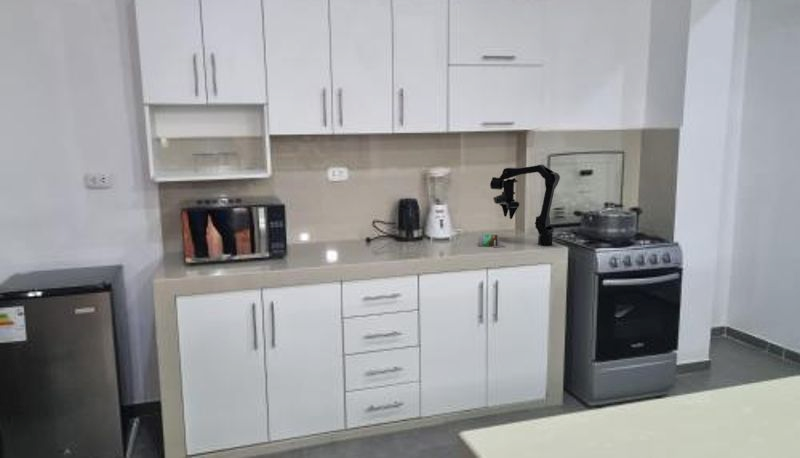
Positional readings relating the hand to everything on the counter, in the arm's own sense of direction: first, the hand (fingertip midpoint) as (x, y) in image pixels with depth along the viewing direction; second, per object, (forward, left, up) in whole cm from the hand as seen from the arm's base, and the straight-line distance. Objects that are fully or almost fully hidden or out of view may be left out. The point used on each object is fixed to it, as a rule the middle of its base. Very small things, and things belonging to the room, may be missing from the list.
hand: (508, 217), depth 333 cm
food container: (+10, +12, -9) cm, 18 cm away
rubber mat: (+11, +12, -13) cm, 21 cm away
